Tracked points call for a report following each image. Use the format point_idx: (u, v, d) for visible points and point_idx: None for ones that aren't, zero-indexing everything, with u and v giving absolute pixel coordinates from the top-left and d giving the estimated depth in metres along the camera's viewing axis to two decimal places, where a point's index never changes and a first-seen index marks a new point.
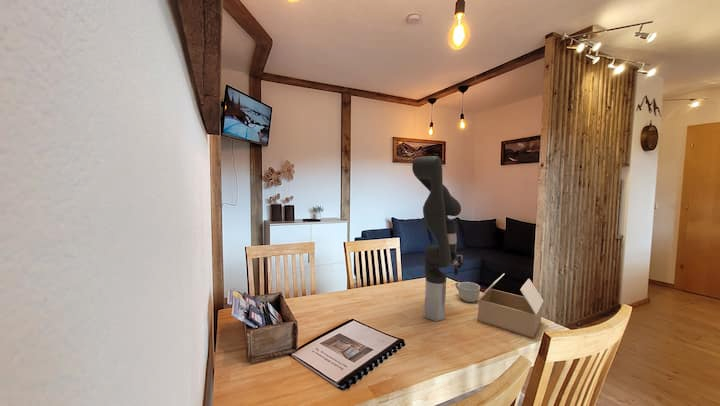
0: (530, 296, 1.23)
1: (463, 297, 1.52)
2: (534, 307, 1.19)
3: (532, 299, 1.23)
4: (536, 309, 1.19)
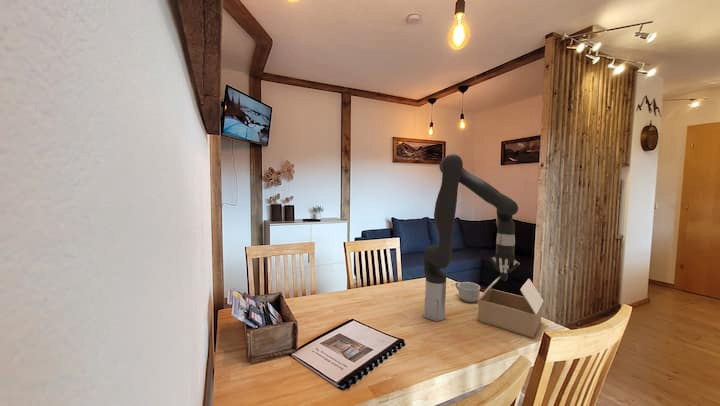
0: (530, 296, 1.23)
1: (463, 297, 1.52)
2: (534, 307, 1.19)
3: (532, 299, 1.23)
4: (536, 309, 1.19)
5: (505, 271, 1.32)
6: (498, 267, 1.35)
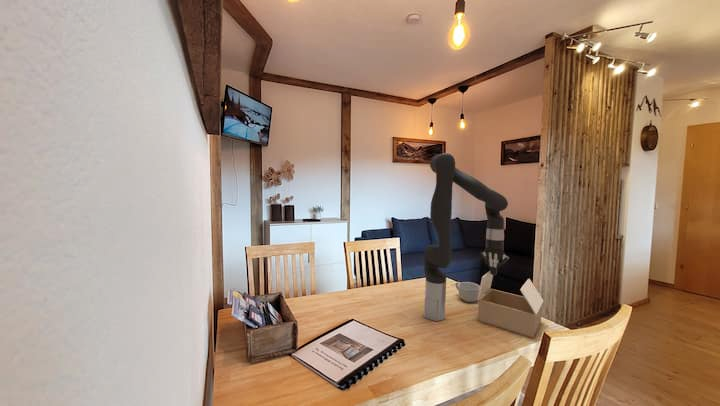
0: (530, 296, 1.23)
1: (463, 297, 1.52)
2: (534, 307, 1.19)
3: (532, 299, 1.23)
4: (536, 309, 1.19)
5: (495, 265, 1.35)
6: (488, 262, 1.38)
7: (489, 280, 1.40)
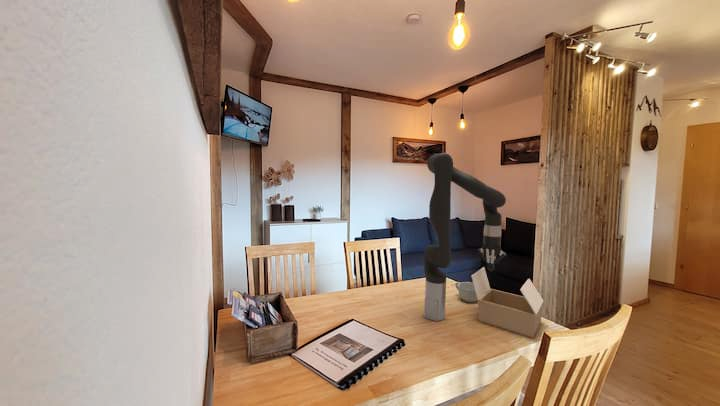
0: (530, 296, 1.23)
1: (463, 297, 1.52)
2: (534, 307, 1.19)
3: (532, 299, 1.23)
4: (536, 309, 1.19)
5: (492, 261, 1.36)
6: (485, 258, 1.39)
7: (483, 279, 1.42)
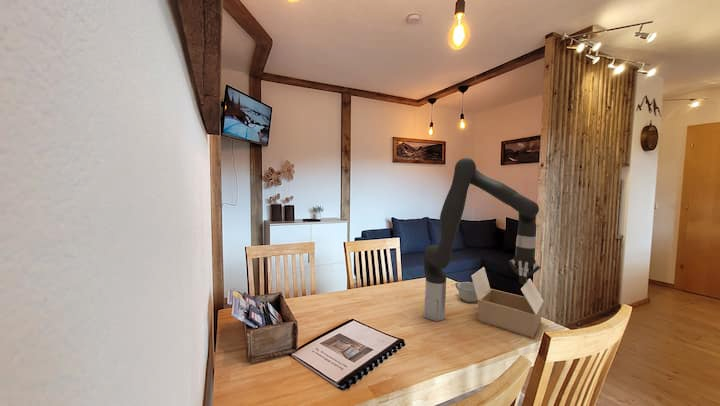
0: (530, 296, 1.23)
1: (463, 297, 1.52)
2: (534, 307, 1.19)
3: (533, 298, 1.23)
4: (536, 309, 1.19)
5: (525, 274, 1.27)
6: (517, 270, 1.30)
7: (483, 279, 1.42)
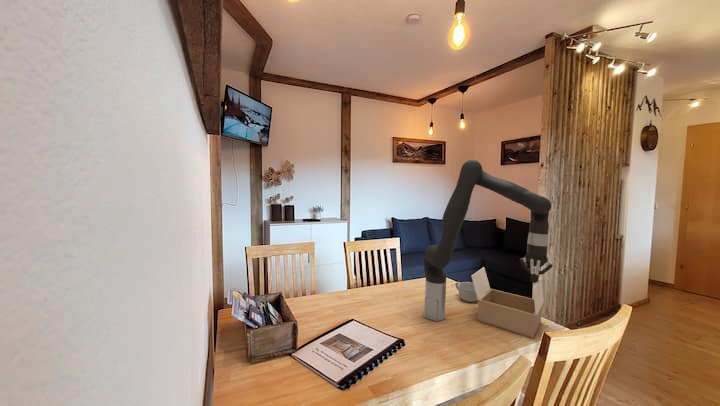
0: (537, 296, 1.21)
1: (463, 297, 1.52)
2: (537, 307, 1.18)
3: (538, 299, 1.21)
4: (538, 310, 1.19)
5: (536, 273, 1.24)
6: (528, 268, 1.27)
7: (483, 279, 1.42)
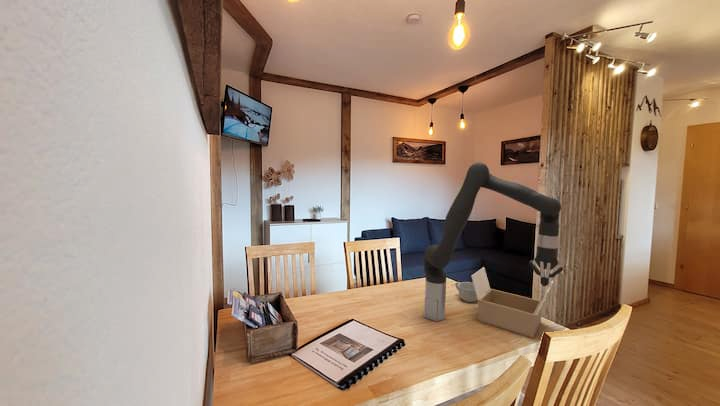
0: None
1: (463, 297, 1.52)
2: (539, 309, 1.18)
3: None
4: (539, 310, 1.19)
5: (547, 276, 1.22)
6: (538, 271, 1.25)
7: (483, 279, 1.42)
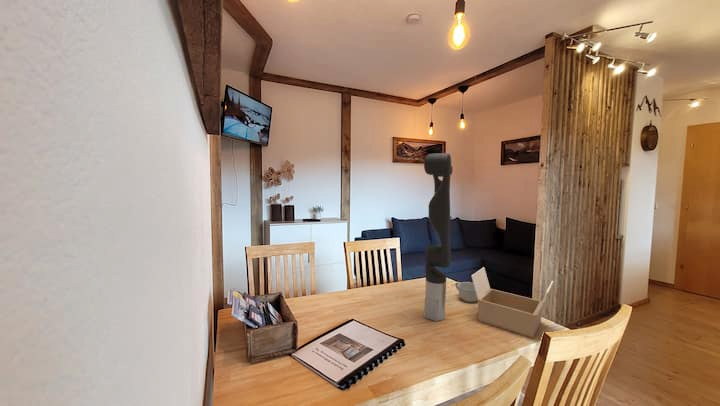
0: None
1: (463, 297, 1.52)
2: None
3: None
4: (539, 310, 1.19)
5: None
6: None
7: (483, 279, 1.42)
